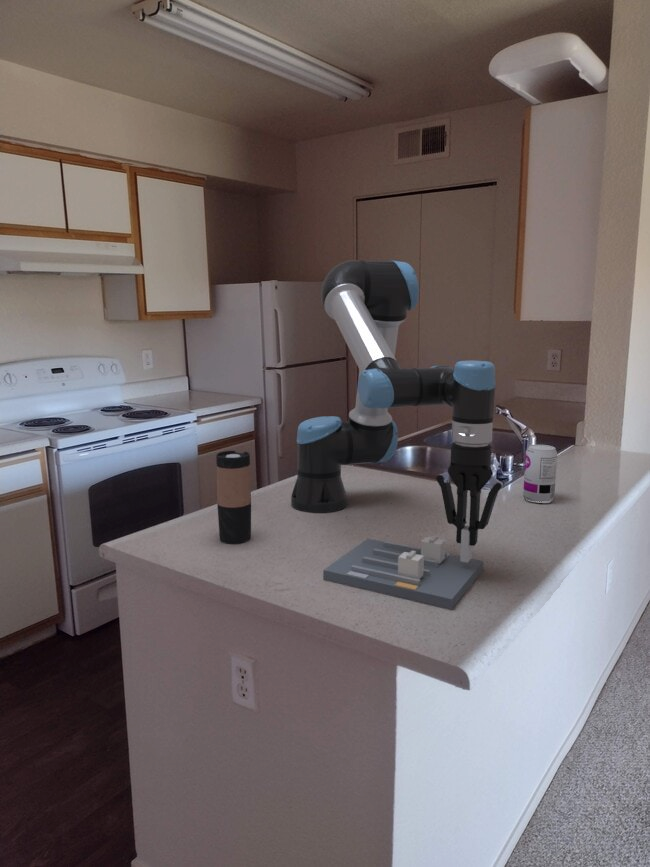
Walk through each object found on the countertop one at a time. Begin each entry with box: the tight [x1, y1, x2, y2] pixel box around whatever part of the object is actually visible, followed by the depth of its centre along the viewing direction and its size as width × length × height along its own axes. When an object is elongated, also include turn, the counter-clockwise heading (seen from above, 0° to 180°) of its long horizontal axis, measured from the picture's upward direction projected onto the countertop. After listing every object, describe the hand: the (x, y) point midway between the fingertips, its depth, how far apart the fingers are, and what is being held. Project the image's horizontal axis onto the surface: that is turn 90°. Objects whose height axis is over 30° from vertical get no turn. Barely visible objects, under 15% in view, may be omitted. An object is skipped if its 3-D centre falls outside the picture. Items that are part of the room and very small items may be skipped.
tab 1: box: [398, 550, 424, 579], centre depth 122 cm, size 4×3×5 cm
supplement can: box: [522, 444, 558, 502], centre depth 177 cm, size 8×8×15 cm
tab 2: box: [420, 534, 446, 564], centre depth 130 cm, size 4×3×5 cm
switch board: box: [322, 538, 484, 610], centre depth 129 cm, size 26×20×3 cm
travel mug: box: [215, 450, 252, 545], centre depth 147 cm, size 8×8×20 cm
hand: (465, 559), depth 127 cm, fingers closed
